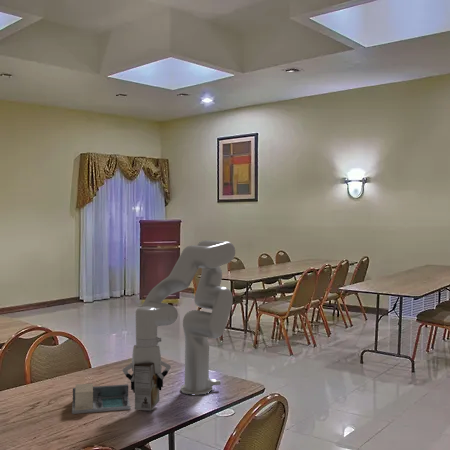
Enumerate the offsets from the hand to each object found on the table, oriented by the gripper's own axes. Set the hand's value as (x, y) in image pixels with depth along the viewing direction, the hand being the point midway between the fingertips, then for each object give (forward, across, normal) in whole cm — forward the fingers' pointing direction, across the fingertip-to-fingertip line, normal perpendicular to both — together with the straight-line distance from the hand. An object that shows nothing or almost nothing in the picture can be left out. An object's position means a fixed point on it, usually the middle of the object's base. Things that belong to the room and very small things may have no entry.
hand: (147, 390), depth 192 cm
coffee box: (+6, 0, 0) cm, 6 cm away
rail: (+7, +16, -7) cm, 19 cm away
